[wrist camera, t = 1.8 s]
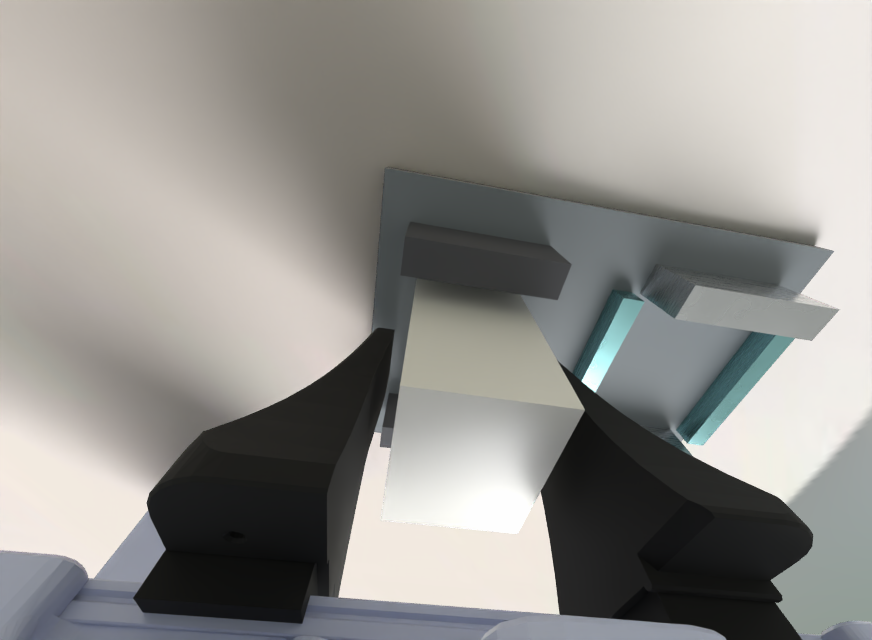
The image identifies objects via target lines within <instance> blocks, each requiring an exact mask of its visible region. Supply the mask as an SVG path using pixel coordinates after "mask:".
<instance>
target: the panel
mask: <svg viewBox="0 0 872 640" xmlns="http://www.w3.org/2000/svg"><path fill="white" fill-rule="evenodd" d="M410 222H415V223H421V224H427V225H433V226H438V227H444V228H450V229H456V230H462V231H467V232H473V233H479V234H485V235H490V236H496V237H502V238H508V239H514V240H519V241H525V242H531V243H537V244H543V245H548V246H551V247H552V248H554V249H555V250H556V251H557V252H558V253H559V254H560V255H562V256H563V257H564V258H565V259H566V260H567V261H568V262H570V263H571V264H572V265H571V268H570V270H569V273H568V275H567V278H566V280H565V283H564V285H563V288H562V291H561V293H560V296H559V298H558V300H552V299H546V298H540V297H533V296H527V295H521V294H520V295H521V297H522V299H523V301H524V302H525V304H526V306H527V308H528V309H529V311H530V313H531V315H532V317H533V318H534V320H535V322H536V324H537V325H538V327H539V329H540V331H541V333H542V334H543V336H544V338H545V340H546V341H547V343H548V345H549V347H550V349H551V350H552V352H553V354H554V356H555V357H556V359H557V361H559V362H560V363H561V364H562V365H563V366H564V367H566V368H567V369H568V370H569V371H570V372H571V373H573V371H574V369H575V367H576V365H577V363H578V361H579V359H580V357H581V354H582V352H583V350H584V348H585V346H586V344H587V342H588V340H589V338H590V336H591V334H592V332H593V330H594V327H595V325H596V323H597V321H598V319H599V317H600V315H601V313H602V311H603V309H604V307H605V305H606V303H607V300H608V298H609V296H610V294H611V292H612V290H613V289H614V290H620V291H626V292H632V293H634V294H635V295H637V296H638V297H639V298H641V299H642V300H643V301H645V302H644V304H643V306H642V308H641V310H640V311H639V313H638V315H637V317H636V319H635V321H634V322H633V324H632V326H631V328H630V330H629V331H628V333H627V335H626V337H625V339H624V341H623V342H622V344H621V346H620V348H619V350H618V352H617V353H616V355H615V357H614V359H613V361H612V363H611V364H610V366H609V368H608V370H607V372H606V374H605V375H604V377H603V379H602V381H601V383H600V385H599V386H598V388H597V390H596V392H595V393H596V394H598V395H599V396H600V397H601V398H603V399H604V400H605V401H607V402H608V403H609V404H610V405H612V406H613V407H614V408H616V409H617V410H618V411H620V412H621V413H623V414H624V415H625V416H627V417H628V418H630V419H631V420H633V421H634V422H636V423H637V424H639V425H641V426H649V427H657V428H664V429H671V431H672V432H673V433H674V434H675V435H676V437H677V438H678V439H679V440H680V441H682V440H683V438H682V436H681V435H680V434H679V433H678V432H677V431H676V429H677V428H678V427H679V426H680V424H681V423H682V422H683V420H684V419H685V418H686V417H687V415H688V414H689V413H690V411H691V410H692V409H693V407H694V406H695V405H696V404H697V402H698V401H699V400H700V398H701V397H702V396H703V394H704V393H705V392H706V391H707V389H708V388H709V387H710V385H711V384H712V383H713V382H714V380H715V379H716V378H717V376H718V375H719V374H720V372H721V371H722V370H723V369H724V367H725V366H726V365H727V363H728V362H729V361H730V360H731V358H732V357H733V356H734V354H735V353H736V352H737V350H738V349H739V348H740V347H741V345H742V344H743V343H744V341H745V340H746V339H747V337H748V336H749V335H750V334H751V332H752V331H747V330H741V329H735V328H728V327H722V326H716V325H710V324H703V323H697V322H691V321H684V320H678V319H674V318H673V317H671V316H670V315H669V314H667V313H666V312H664V311H663V310H662V309H660V308H659V307H658V306H656V305H655V304H653V303H652V302H651V301H649V300H648V299H646V298H645V297H644V296H642V295H641V294H640V293H641V291H642V289H643V287H644V285H645V283H646V281H647V280H648V278H649V276H650V274H651V272H652V270H653V268H654V266H655V265H656V264H658V265H664V266H670V267H676V268H682V269H687V270H693V271H699V272H705V273H711V274H716V275H722V276H728V277H734V278H740V279H745V280H751V281H757V282H763V283H769V284H774V285H780V286H782V287H785V288H787V289H790V290H792V291H795V292H797V293H801V292H802V291H803V289H804V288H805V287H806V286H807V284H808V283H809V282H810V281H811V279H812V278H813V277H814V276H815V274H816V273H817V272H818V271H819V269H820V268H821V267H822V266H823V264H824V263H825V262H826V261H827V259H828V258H829V257H830V256H831V254H832V253H833V252H834V251H832V250H828V249H824V248H820V247H816V246H811V245H806V244H800V243H795V242H789V241H784V240H779V239H773V238H768V237H762V236H757V235H752V234H746V233H741V232H735V231H730V230H725V229H719V228H714V227H708V226H703V225H698V224H692V223H687V222H681V221H676V220H671V219H665V218H660V217H654V216H649V215H643V214H638V213H633V212H627V211H622V210H616V209H611V208H606V207H600V206H595V205H589V204H584V203H579V202H573V201H568V200H562V199H557V198H552V197H546V196H541V195H535V194H530V193H525V192H519V191H514V190H508V189H503V188H498V187H492V186H487V185H481V184H476V183H471V182H465V181H460V180H454V179H449V178H444V177H438V176H433V175H427V174H422V173H417V172H411V171H406V170H400V169H395V168H390V167H387V168H385V174H384V186H383V199H382V211H381V224H380V236H379V249H378V261H377V274H376V286H375V299H374V312H373V324H372V332H373V331H374V330H375V329H376V328H378V327H379V328H386V329H393V330H395V332H394V340H393V348H392V356H391V365H390V373H389V379H388V384H387V389H386V394H385V399H384V402H383V405H382V408H381V412H380V415H379V418H378V421H377V424H376V428H375V431H374V432H378V433H382V426H383V421H384V416H385V410H386V405H387V400H388V395H389V393H394V394H399V389H400V382H401V376H402V369H403V363H404V357H405V350H406V344H407V338H408V331H409V325H410V319H411V312H412V306H413V299H414V293H415V287H416V280H417V278H414V277H407V276H401V275H400V274H401V266H402V257H403V249H404V240H405V235H406V232H407V229H408V227H409V224H410ZM419 279H420V278H419ZM425 280H426V279H425ZM431 281H432V280H431ZM438 282H439V281H438ZM444 283H445V282H444ZM450 284H451V283H450ZM457 285H458V284H457ZM463 286H464V285H463ZM469 287H470V286H469ZM475 288H477V287H475ZM482 289H483V288H482ZM488 290H489V289H488ZM494 291H495V290H494ZM501 292H502V291H501ZM507 293H508V292H507ZM513 294H514V293H513Z"/></svg>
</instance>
